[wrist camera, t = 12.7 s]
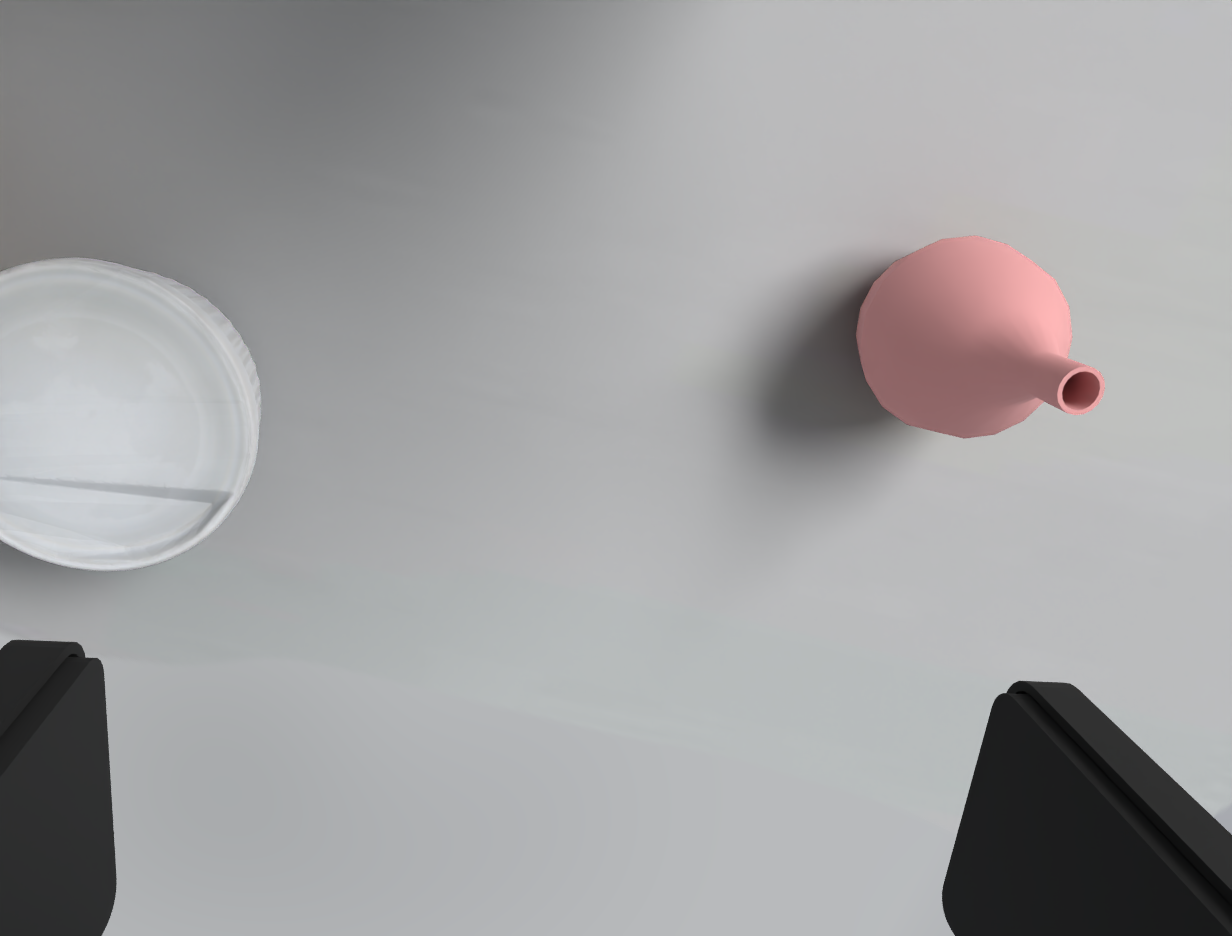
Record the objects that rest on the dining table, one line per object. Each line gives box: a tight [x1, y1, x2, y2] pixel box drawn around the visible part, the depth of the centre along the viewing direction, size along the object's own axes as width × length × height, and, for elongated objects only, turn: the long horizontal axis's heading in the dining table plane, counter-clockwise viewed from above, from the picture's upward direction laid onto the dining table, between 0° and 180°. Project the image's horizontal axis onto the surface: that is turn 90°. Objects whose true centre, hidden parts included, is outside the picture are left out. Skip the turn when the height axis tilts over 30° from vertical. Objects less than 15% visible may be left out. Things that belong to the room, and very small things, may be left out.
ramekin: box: [0, 257, 262, 571], centre depth 35 cm, size 11×11×5 cm
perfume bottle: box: [856, 236, 1105, 438], centre depth 35 cm, size 8×8×12 cm
